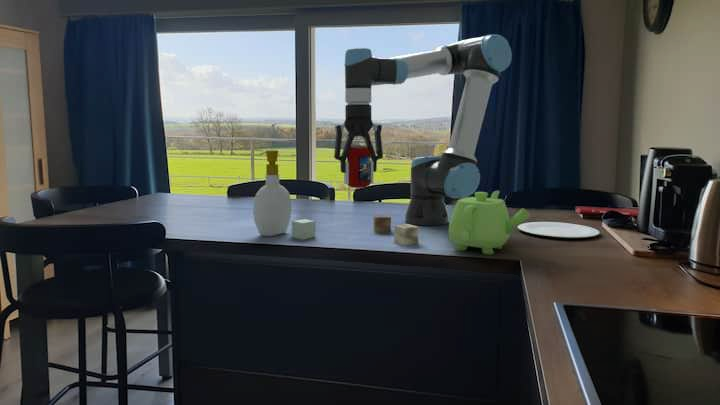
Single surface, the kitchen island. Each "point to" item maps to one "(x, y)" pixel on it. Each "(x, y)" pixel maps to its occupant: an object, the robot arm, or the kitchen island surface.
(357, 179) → the beverage can
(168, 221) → the kitchen island surface
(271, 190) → the soap bottle
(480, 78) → the robot arm
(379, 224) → the walnut cube
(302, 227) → the sage painted cube
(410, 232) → the maple cube
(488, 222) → the teapot
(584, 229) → the plate
